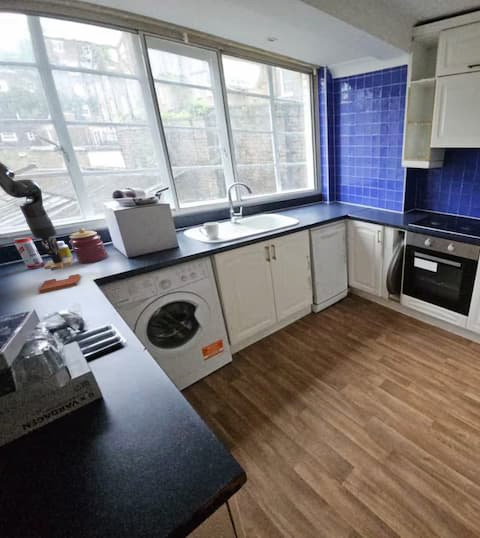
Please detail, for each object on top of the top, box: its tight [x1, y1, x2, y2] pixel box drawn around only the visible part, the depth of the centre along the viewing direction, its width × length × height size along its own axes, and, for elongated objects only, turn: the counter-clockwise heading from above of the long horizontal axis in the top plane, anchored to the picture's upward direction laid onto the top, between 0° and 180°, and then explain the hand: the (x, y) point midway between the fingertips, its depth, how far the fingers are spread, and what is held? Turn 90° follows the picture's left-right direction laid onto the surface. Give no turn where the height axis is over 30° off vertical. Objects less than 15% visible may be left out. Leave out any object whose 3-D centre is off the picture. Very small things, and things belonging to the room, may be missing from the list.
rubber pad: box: [38, 273, 81, 294], centre depth 133 cm, size 12×12×2 cm
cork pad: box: [43, 250, 75, 271], centre depth 137 cm, size 9×12×6 cm
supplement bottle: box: [57, 240, 74, 258], centre depth 164 cm, size 5×5×10 cm
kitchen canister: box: [68, 227, 108, 264], centre depth 160 cm, size 13×13×18 cm
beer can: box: [13, 236, 45, 270], centre depth 152 cm, size 6×6×16 cm
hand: (58, 261), depth 139 cm, fingers closed on cork pad, 3 cm apart
